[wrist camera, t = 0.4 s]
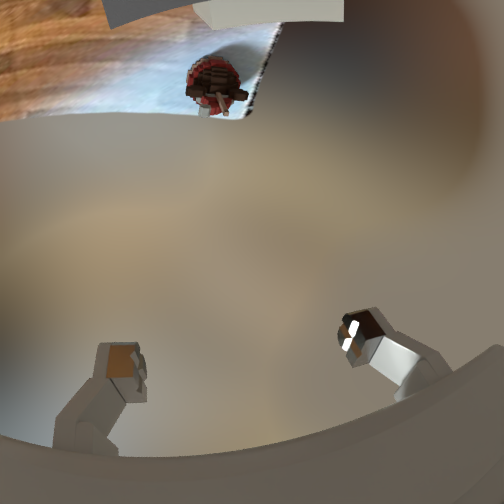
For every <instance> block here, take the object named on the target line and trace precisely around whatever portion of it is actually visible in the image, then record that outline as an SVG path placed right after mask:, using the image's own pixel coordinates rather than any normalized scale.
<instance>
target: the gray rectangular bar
mask: <svg viewBox="0 0 504 504" xmlns="http://www.w3.org/2000/svg"><path fill="white" fill-rule="evenodd" d="M205 1H210V0H102V3H103V6H104V10H105V13H106V16H107V20H108V23H109V26H110V29H113V28H116V27H118V26H121V25H124V24H126V23H129V22H132V21H134V20H137V19H140V18H143V17H146V16H149V15H153V14H156V13H159V12H163V11H166V10H170V9H174V8H178V7H182V6H186V5H190V4H195V3H200V2H205Z"/></svg>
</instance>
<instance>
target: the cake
mask: <svg viewBox="0 0 504 504" xmlns="http://www.w3.org/2000/svg"><path fill="white" fill-rule="evenodd" d="M222 59H223V58H222V57H216V56H208V59H204V58H201V60H200V61H197V62H196V64H193V65H192V70H188V73H187V79H186V83H187V87H186V96H190V97H191V98H193V101H196V104H199V105H200V108H199V113H198V114H199V117H202V118H207V117H210V115H218V114H220V113H221V112H222V113H223V115H224V116H228V115H229V111H228V109H229V107H230V105H232V104H234V100H236V101H244V100H247V98H248V95H249V93H248V92H247V91H243V89H239V88H240V84H241V82H240V80H239V79H238V78H239V75H238V73H237V72H236V71H235V69H234V68H233V67H232V65H231V64H228V63H229V61H225V60H222Z"/></svg>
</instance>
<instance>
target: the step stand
mask: <svg viewBox="0 0 504 504" xmlns="http://www.w3.org/2000/svg"><path fill="white" fill-rule="evenodd" d="M193 9H194V12H195V13H196V14H197V15H198V16H199V17H201V18H202V19H203V20H204V21H205V22H206V23H207V24H208V25H209V26H210V27H211V28H212V29H213V30H219V29H225V28H231V27H237V26H244V25H252V24H262V23H273V22H287V21H337V22H343V17H344V0H210V1H205V2H200V3H195V4H193Z"/></svg>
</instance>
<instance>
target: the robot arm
mask: <svg viewBox="0 0 504 504" xmlns="http://www.w3.org/2000/svg"><path fill="white" fill-rule="evenodd" d="M342 321H343V324H342V325H341V326H340V327H339V330H338V341H339V344H340V346H341V348H342V349H344V350H345V351H347V354H346V357H347V359H348V360H349V362H350V364H351V366H352V367H353V368H354V367H357V366H361V365H364V364H367V363H369V364H370V365H371V366H372V367H374V368H375V369H376V370H378V371H379V372H381V373H382V374H384V375H385V376H386V377H388V378H389V379H390V380H392V381H393V382H395V383H396V384H398V385H399V386H400V387H399V388H398V389H397V391H396V392H395V393H394V397H395V399H396V401H397V402H396V403H394V404H392V405H389V406H387V407H385V408H382V409H380V410H378V411H375V412H373V413H371V414H368V415H365V416H363V417H360V418H358V419H355V420H353V421H350V422H347V423H344V424H341V425H338V426H335V427H332V428H329V429H326V430H323V431H320V432H316V433H313V434H309V435H306V436H302V437H299V438H295V439H291V440H287V441H283V442H278V443H274V444H269V445H265V446H259V447H254V448H248V449H243V450H237V451H230V452H223V453H214V454H205V455H195V456H194V455H193V456H179V457H122V456H118V448H117V447H116V446H115V445H114V444H113V443H112V442H111V441H110V440H109V439H107V436H108V434H109V433H110V431H111V429H112V427H113V426H114V424H115V422H116V421H117V419H118V418H119V416H120V414H121V413H122V411H123V409H124V407H125V406H126V403H142V402H147V387H146V385H145V383H144V381H145V380H146V378H147V370H146V363H145V359H144V356H143V355H142V354H140V346H139V344H138V342H114V343H113V342H112V343H100V344H99V345H98V349H97V354H96V360H95V366H94V372H93V378H89V379H88V380H87V381H86V382H85V384H84V385H83V386H82V387H81V388H80V389H79V391H78V392H77V393H76V394H75V395H74V396H73V398H72V399H71V400H70V401H69V403H68V404H67V405H66V406H65V407H64V408H63V410H62V411H61V412H60V413H59V414H58V416H57V417H56V420H55V428H54V436H53V447H52V448H50V447H45V446H40V445H36V444H32V443H28V442H24V441H20V440H16V439H13V438H10V437H6V436H3V435H0V504H504V347H503V346H501V345H498V344H495V345H493V346H491V347H489V348H488V349H487V350H485V351H484V352H482V353H481V354H480V355H479V356H477V357H475V358H474V359H473V360H471V361H469V362H468V363H466V364H465V365H463V366H462V367H460V368H459V369H457V370H455V371H454V372H453V371H452V369H451V368H450V367H449V365H448V364H447V363H446V361H445V360H444V358H443V357H442V356H441V354H440V353H439V352H438V351H436V350H434V349H432V348H430V347H428V346H426V345H424V344H422V343H420V342H418V341H416V340H415V339H412V338H411V337H409V336H407V335H405V334H403V333H401V332H399V331H397V332H396V331H395V330H394V329H393V327H392V326H391V325H390V323H389V322H388V321H387V319H386V318H385V317H384V315H383V314H382V313H381V312H380V310H379V309H378V308H377V307H372V308H368V309H363V310H359V311H354V312H351V313H346V314H345V315H344V316H343V318H342Z"/></svg>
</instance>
